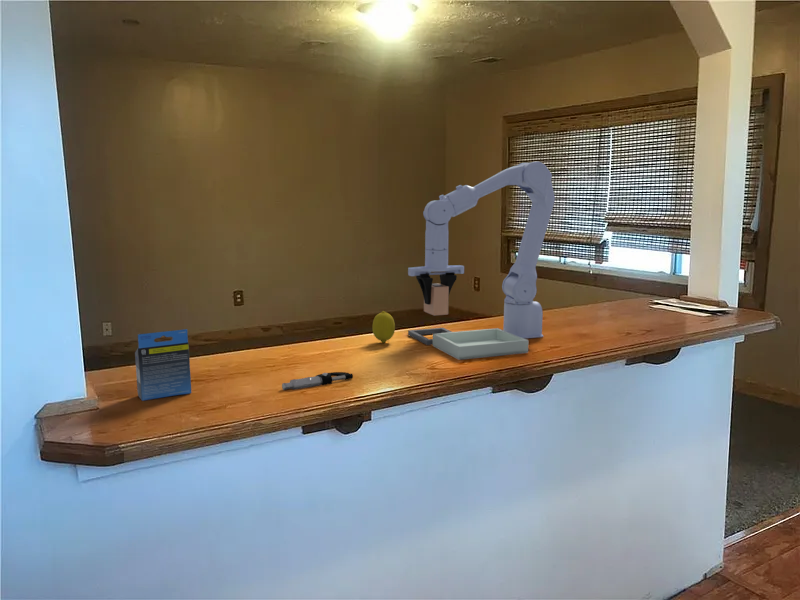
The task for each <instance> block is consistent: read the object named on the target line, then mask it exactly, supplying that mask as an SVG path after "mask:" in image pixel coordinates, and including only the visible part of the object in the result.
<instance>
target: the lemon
mask: <svg viewBox="0 0 800 600" xmlns="http://www.w3.org/2000/svg"><path fill="white" fill-rule="evenodd" d="M371 327H372V334H373V336H374V337H375V338H376V339H377V340H379V341H380V342H381V343H382V344H385V343H386V342H387V341H388V340H390V339H392V338H393V336H394V334H395V332H396V331H395V330H396V324H395V320H394V317H393V316H392V315H391V314H390V313H388V312H387V311H386V310H385V311H384V310H382V311H381V312H380V313H378V314H376V315H375V316H374V318H373V320H372V326H371Z"/></svg>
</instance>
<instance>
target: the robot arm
mask: <svg viewBox="0 0 800 600" xmlns="http://www.w3.org/2000/svg"><path fill="white" fill-rule="evenodd" d="M552 176H553V174H552V172H551V171H550V170H549V168H548V167H547V166H546V164H545V163H543V162H541V161H538V160H537V161H532V162H522V163H521V162H520V163H518V164H517V165H514V166H511V167H507V168H506V169H503V170H501V171H499V172H497V173H496V174H494V175H492V176H490V177H489V178H486V179H485V180H483V181H481V182H479V183H478V184H476V185H474V186H470V185H468V184H465V185H462V184H459V185H457V186H455V189H454V190H453V191H450V192H449V193H447V194H445V195H444V194H441V195H439V196H438V198H439V199H437V200H431V201H429V202H428V203H427V204H426V205H425V207H424V210H423V212H422V213H423V218H424V219H425V231H424V232H425V234H424V236H425V237H424V239H425V240H424V241H425V242H424V244H425V245H424V247H425V249H424V252H425V253H424V255H425V256H424V257H425V258H424V266H423V265H422V266H414V267H408V268H407V269H408V270H407V274H408V276H409V277H416V280H417V283H418V284H419V287H420V289H421V292H422V295H423V302H424V301H425V304H431V287H432V284H433V280H434V278H433V277H431V276H434V275H435V276H436V275H439V280H440V284H442V285H445V286H448V287H449V295H450V293H451V290H452V288H453V287H454V283H455V282H456V281H457V278H458V277H457V274H461V275H462V274H465V265H462V264H461V265H460V264H458V265H449V232H450V231H449V222H450V220H451V218H454V217H457V216H458V215H461V214H463V213H465V212H467V211H468V210H470V209H472V208H474V207H476V206H477V205H478V201H479V199H480V198H483V197H485V196H486V195H489V194H492V193H493V192H495V191H498V190H500V189H502V188H504V187H506V186H517V187H519V188H520V190H522V191H524V192H525V193H526V195H527V197H528V198H529V200H530V201H531V207H530V209H529V213H528V217H527V220H526V224H525V226H524V230H523V234H522V237H521V241H520V245H519V247H518V251H517V256H516V259H515V262H514V263H513V265H512V266H511V267H510V268H509V272H508V274H507V276H506V277H505V278H504V279H503V281H502V285H501V288H502V289H501V290H502V292H503V293H504V295H505V298H504V300H503V301H504V305H503V328H502V330H504V331H506V332H509V333H511V334H514V335H516V336H519V337H521V338H524V339H536V338H544V334H543V307H542V305H541V303H540V302H538V301H536V300H535V301H534V299H535V297H536V294H537V291H538V290H537V279H538V273H537V269H536V267H537V264H538V260H539V257H540V252H541V250H542V246H543V243H544V239H545V237H546V232H547V230H548V226H549V223H550V218H551V215H552V212H553V209H554V205H555V200H556V197H555V193H554V188H553V187H554V186H553V183H552V179H553V177H552Z"/></svg>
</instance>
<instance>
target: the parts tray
mask: <svg viewBox="0 0 800 600" xmlns="http://www.w3.org/2000/svg"><path fill="white" fill-rule="evenodd" d="M432 339H433V345H432V347H433V348H436V349H438V350H439V351H442V352H443V353H445V354H447V355H449V356H450V357H453V358H454V359H456V360H458V361H459V360H460V361H463V360H470V359H471V360H473V359H480V358H482V359H483V358H491V357H501V356H509V355H510V356H511V355H519V354H520V355H521V354H522V355H523V354H528V353H529V339H528V338H526V339H524V338H521V337H519V336H516V335H514V334H511V333H509V332H506V331H504V330H503V329H501V328H498V327H496V328H484V329H474V330H461V331H452V332H447V333H436V334H432Z"/></svg>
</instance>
